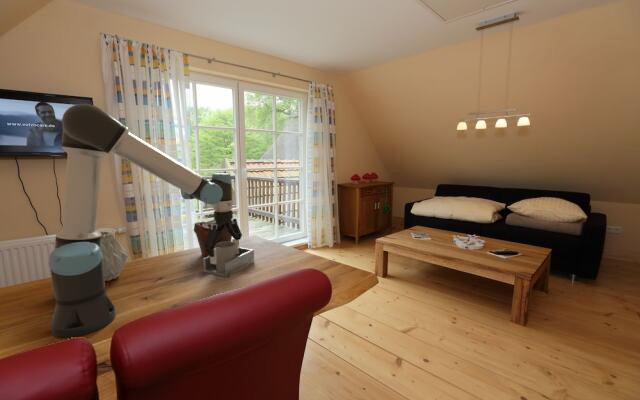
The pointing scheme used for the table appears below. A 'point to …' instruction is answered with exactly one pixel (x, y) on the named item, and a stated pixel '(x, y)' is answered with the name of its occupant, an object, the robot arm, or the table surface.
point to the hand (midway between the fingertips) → (225, 258)
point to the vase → (112, 256)
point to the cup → (224, 253)
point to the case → (202, 233)
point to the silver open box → (231, 263)
